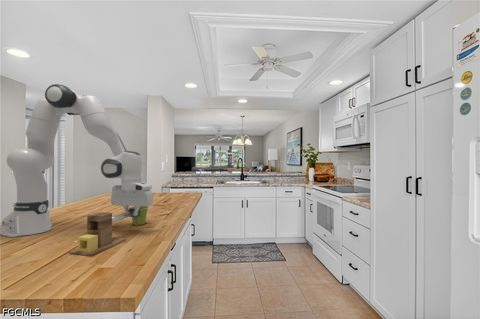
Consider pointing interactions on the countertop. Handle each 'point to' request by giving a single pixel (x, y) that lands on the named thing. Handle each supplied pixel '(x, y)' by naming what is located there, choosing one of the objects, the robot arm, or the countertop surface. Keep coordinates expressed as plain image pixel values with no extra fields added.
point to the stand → (100, 233)
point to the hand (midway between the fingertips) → (131, 215)
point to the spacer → (87, 243)
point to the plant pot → (142, 217)
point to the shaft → (124, 215)
